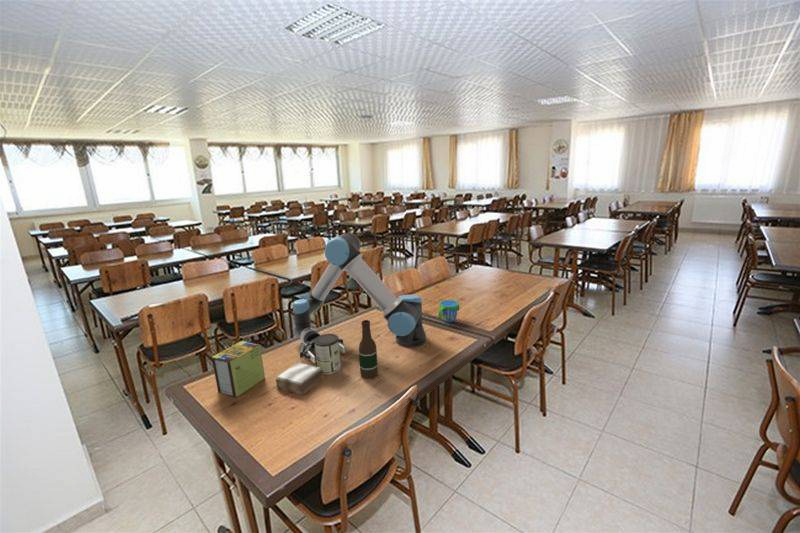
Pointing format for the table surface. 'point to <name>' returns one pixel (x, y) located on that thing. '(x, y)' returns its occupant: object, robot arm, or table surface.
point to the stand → (299, 378)
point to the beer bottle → (367, 353)
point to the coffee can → (328, 353)
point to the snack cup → (448, 310)
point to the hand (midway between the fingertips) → (329, 354)
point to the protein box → (238, 368)
